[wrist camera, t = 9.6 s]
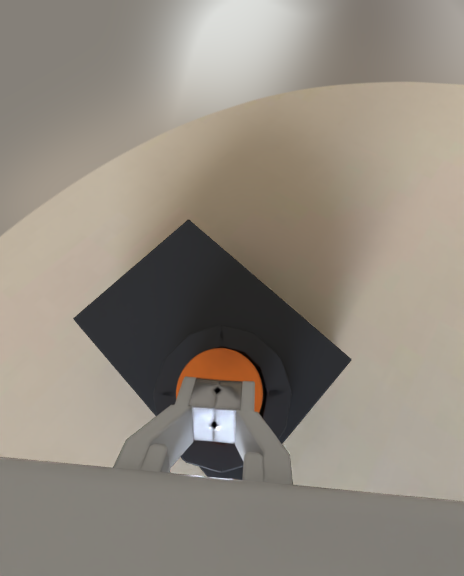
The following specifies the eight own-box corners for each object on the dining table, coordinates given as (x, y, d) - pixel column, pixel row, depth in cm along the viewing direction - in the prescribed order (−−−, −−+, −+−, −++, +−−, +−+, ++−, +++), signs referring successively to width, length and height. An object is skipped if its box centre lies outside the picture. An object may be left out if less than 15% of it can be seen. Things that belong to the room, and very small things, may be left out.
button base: (110, 336, 24) (55, 310, 17) (199, 255, 27) (183, 203, 20) (234, 478, 20) (229, 518, 13) (327, 369, 23) (363, 355, 16)
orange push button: (168, 393, 16) (157, 392, 14) (222, 338, 17) (219, 330, 15) (222, 454, 15) (218, 462, 13) (276, 392, 16) (281, 391, 14)
